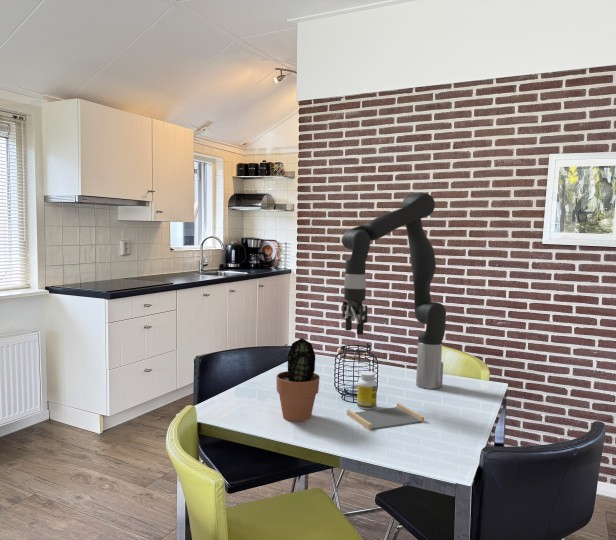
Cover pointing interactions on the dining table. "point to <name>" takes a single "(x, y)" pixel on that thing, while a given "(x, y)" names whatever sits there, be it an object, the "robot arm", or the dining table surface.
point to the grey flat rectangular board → (386, 417)
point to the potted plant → (298, 382)
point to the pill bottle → (367, 391)
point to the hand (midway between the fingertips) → (354, 332)
